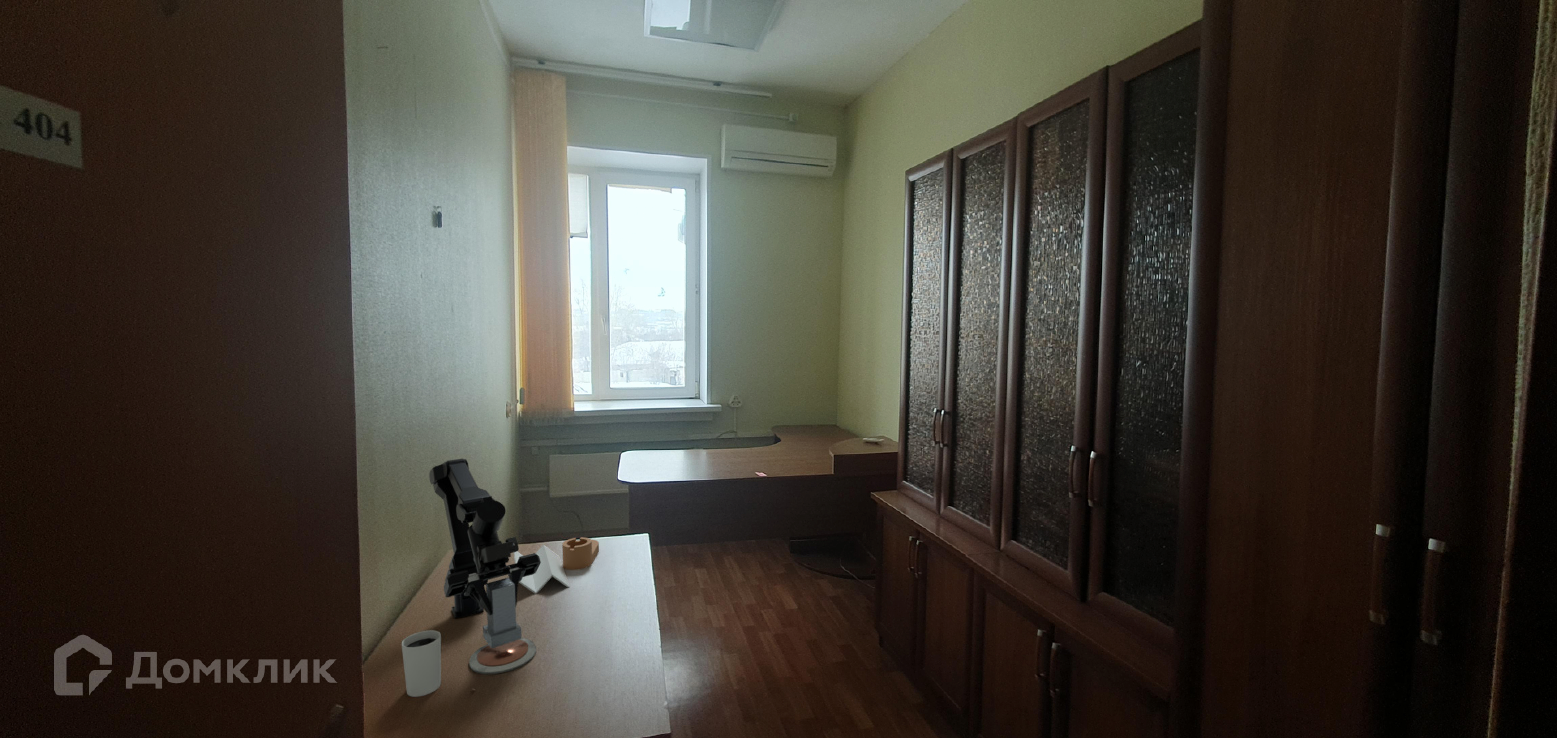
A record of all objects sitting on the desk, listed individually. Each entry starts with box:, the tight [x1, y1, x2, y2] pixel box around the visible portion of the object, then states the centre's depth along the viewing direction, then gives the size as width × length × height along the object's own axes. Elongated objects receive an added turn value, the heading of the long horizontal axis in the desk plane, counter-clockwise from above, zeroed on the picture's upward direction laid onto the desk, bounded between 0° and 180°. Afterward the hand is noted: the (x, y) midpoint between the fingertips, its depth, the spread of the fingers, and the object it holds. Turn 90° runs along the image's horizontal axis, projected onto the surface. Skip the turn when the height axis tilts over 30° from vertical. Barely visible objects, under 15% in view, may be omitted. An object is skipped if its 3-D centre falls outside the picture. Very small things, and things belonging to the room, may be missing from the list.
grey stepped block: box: [482, 577, 523, 648], centre depth 129 cm, size 6×6×12 cm
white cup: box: [401, 629, 442, 698], centre depth 118 cm, size 7×7×10 cm
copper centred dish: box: [468, 637, 537, 675], centre depth 130 cm, size 13×13×1 cm
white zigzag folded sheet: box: [513, 544, 570, 594], centre depth 172 cm, size 12×25×6 cm
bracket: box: [561, 536, 600, 571], centre depth 185 cm, size 18×8×7 cm, turn 5°
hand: (503, 610), depth 128 cm, fingers closed on grey stepped block, 4 cm apart
